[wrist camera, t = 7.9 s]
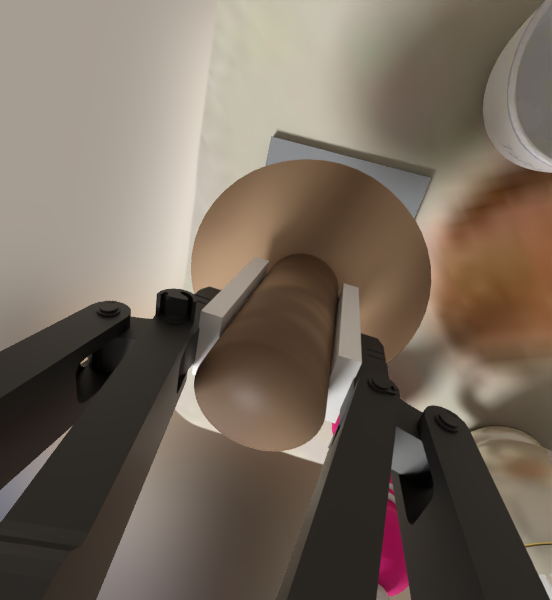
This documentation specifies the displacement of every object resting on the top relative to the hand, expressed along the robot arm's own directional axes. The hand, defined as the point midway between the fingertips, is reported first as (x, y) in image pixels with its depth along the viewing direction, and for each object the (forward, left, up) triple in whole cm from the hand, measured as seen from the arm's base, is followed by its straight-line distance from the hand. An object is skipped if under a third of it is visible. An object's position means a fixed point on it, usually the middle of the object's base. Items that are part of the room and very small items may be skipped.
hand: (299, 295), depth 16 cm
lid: (0, 0, -2) cm, 2 cm away
